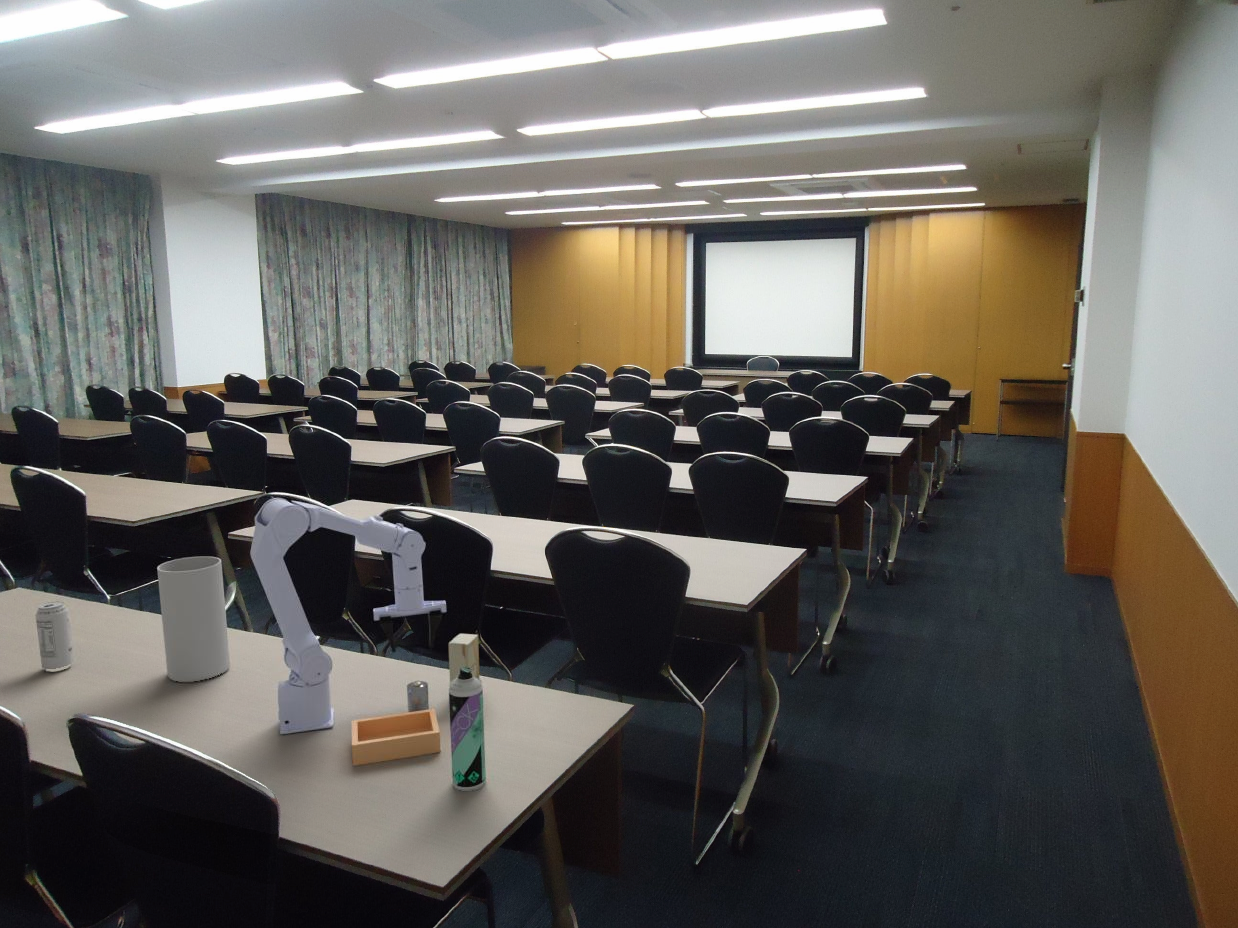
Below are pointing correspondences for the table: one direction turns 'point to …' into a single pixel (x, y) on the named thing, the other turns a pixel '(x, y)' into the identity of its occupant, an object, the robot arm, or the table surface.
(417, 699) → the cell
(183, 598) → the cylinder vase
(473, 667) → the skincare box
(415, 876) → the table surface
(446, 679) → the table surface
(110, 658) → the table surface
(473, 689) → the spray can
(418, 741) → the trough
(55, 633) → the energy drink can
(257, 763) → the table surface
